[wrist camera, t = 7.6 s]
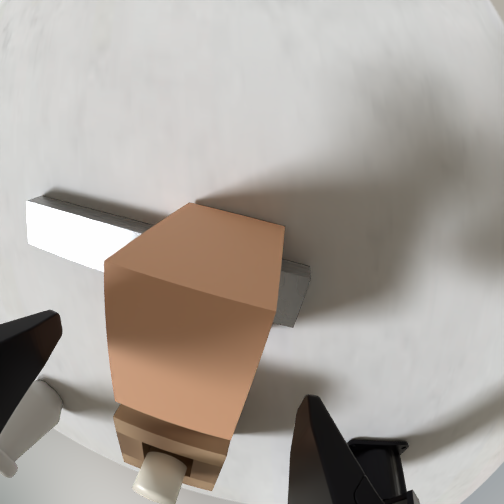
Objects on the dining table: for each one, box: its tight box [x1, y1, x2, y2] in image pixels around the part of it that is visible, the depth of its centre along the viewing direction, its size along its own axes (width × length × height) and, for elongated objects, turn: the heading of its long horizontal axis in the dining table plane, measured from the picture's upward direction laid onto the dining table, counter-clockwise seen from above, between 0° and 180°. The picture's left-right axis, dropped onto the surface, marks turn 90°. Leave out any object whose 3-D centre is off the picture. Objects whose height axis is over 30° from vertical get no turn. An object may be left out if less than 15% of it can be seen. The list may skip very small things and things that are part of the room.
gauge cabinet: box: [113, 404, 230, 491], centre depth 18 cm, size 7×7×6 cm
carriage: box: [104, 202, 285, 440], centre depth 13 cm, size 5×7×8 cm
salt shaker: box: [0, 380, 63, 478], centre depth 19 cm, size 6×6×13 cm
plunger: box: [132, 452, 187, 504], centre depth 14 cm, size 3×3×3 cm
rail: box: [27, 196, 311, 328], centre depth 16 cm, size 18×3×2 cm, turn 77°
